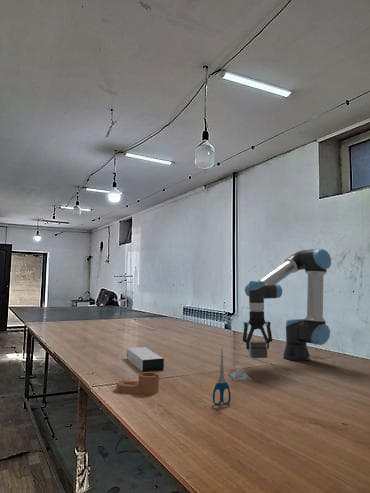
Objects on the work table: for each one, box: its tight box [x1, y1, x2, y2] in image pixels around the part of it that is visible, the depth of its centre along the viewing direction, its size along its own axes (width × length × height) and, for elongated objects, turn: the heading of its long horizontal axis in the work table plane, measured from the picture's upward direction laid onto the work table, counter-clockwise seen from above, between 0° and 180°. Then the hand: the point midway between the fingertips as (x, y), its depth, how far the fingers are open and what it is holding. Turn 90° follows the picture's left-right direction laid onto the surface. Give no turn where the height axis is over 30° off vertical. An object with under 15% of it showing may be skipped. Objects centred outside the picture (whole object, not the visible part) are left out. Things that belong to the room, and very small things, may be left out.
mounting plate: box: [227, 365, 252, 382], centre depth 175 cm, size 8×12×5 cm, turn 6°
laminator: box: [126, 346, 165, 373], centre depth 200 cm, size 34×12×6 cm, turn 22°
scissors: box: [212, 350, 232, 406], centre depth 137 cm, size 7×1×20 cm, turn 105°
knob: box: [249, 340, 268, 359], centre depth 188 cm, size 8×8×8 cm
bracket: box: [115, 371, 160, 395], centre depth 152 cm, size 18×8×7 cm, turn 77°
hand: (257, 355), depth 188 cm, fingers closed on knob, 8 cm apart
